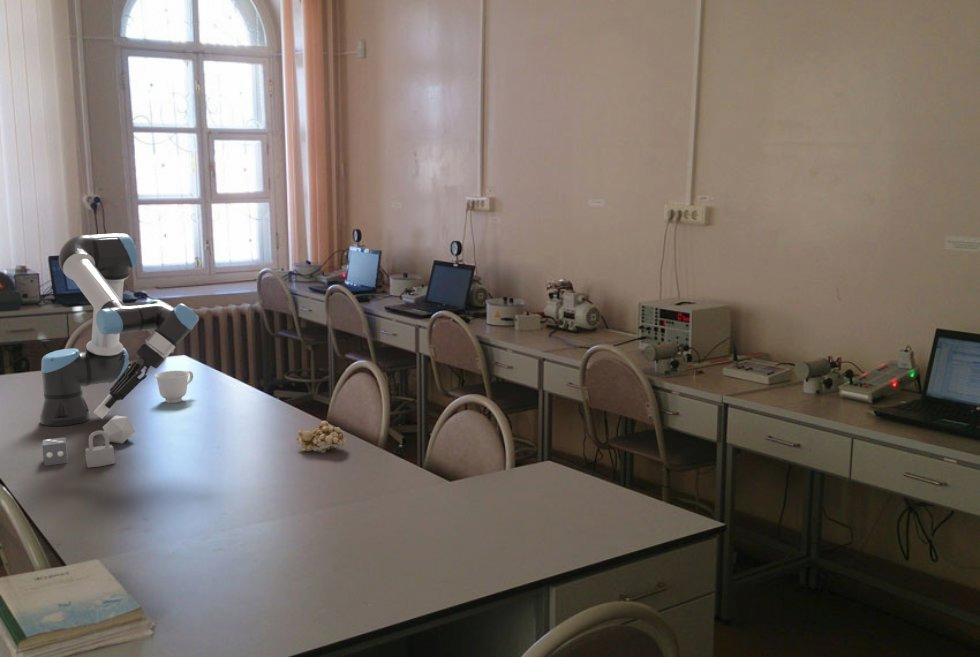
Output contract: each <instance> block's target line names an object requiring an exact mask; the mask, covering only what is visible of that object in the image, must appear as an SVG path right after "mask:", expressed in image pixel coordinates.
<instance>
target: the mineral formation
mask: <svg viewBox="0 0 980 657" xmlns="http://www.w3.org/2000/svg"><path fill="white" fill-rule="evenodd" d="M318 426H319V427H316V429H313V430H312V431H309V430H307V429H305V430H302V429H301V430H298V436H297V437H296V440H295V442H296V443H297V445H300V446H301V448H300V451H301V452H303V451H304V452H310V451H314V452H319V453H320V454H321V453H322V454H325V453H326V452H327V451H329V450H330V449H334V448H336V449H337V447H341V446H342V447H343V446H346V444H347V443H346V442H347V440H346V438H345V435H344V434H345V432H344V431H343V430H342V429H341V428H340V427H339V426H338V427H333V426H332V425H331V424H329V422H328V421H326V420H322V421H321V422H320V424H319V425H318Z"/></svg>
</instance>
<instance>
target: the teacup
mask: <svg viewBox="0 0 980 657" xmlns="http://www.w3.org/2000/svg"><path fill="white" fill-rule="evenodd" d="M154 378H155V379H156V382H157V385H158V386H157V387H158V391H159V395H160V397H161V398H163V399H165V403H167V404H176V403H180V402H182V401H183V397H184V396H186V394H187V391H188V385H189V384H190V383H191V382H192V381H193V379H194V373H193V372H192V371H191V370H168V371H162V372H158V373H155V375H154Z"/></svg>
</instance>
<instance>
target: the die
mask: <svg viewBox="0 0 980 657" xmlns="http://www.w3.org/2000/svg"><path fill="white" fill-rule="evenodd" d="M102 429H103V431H105V432H106V433H107V434H108V436H109V443H116V444H124V443H125V442H126V441H127V440H128V439H129V438H130V437H131V436H132V435H133V434H134V433H136V432H135V429H134V427H133V425H132V423H131V421H130V419H129V417H128V416H123V415H114V416H113V417H111V418H110V419H109V421H107V422H106V424H104V425H103V426H102Z"/></svg>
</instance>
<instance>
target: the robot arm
mask: <svg viewBox="0 0 980 657" xmlns="http://www.w3.org/2000/svg"><path fill="white" fill-rule="evenodd" d="M138 263H139V255H138V250H137V246H136V244H135V242H134V240H133V238H132V237H131V236H130V235H128V234H126V233H116V232H113V233H102V234H101V233H100V234H99V233H98V234H81V235H77V236H76V235H75V236H74V237H72V238H70V239H68V240H67V241H66V242H65V243H64V244H63V246H62V247H61V249H60V251H59V254H58V265H59V267H60V270H61V272H62V273H63V274H64V275H65V277H67V278H68V279H70V280H73V282H74V283H75V284H76V285H77V287H78V288H79V290H80V291H81V293H82V294H83V295H84V297H85V298H86V299H87V300H88V302H89V303H90V305H91V306H92V307H93V312H92V313H93V316H92V317H93V318H92V327H91V328H92V329H91V340H89V341H88V342H87V343H86V345H85V346H86V347H85V348H86V349H85V351H80V350H79V349H78V348H75V347H74V348H63V349H58V350H54V351H52V352H49V353H47V354H45V355H44V356H43V357H42V358H41V367H40V368H41V369H40V371H41V377H42V386H43V389H42V390H43V398H44V400H43V404H42V408H41V413H40V416H39V420H40V424H41V425H43V426H48V427H62V426H69V425H76V424H77V425H78V424H81V423H84V422H86V421H88V420H90V419H91V411H90V409H89V406H88V404H87V403H86V400H85V398H84V396H83V395H84V394H83V387H88V386H95V385H100V384H101V385H102V384H108V383H109V384H110V383H114V384H113V385H112V386H111V388H110V389H109V393H108V395H107V396H106V397H105V398H104V399H103V401H102V402H100V404H99V405H98V406H97V407H96V408H95V410H94V411H93V413H94V414H95V416H98V417H99V418H100V419H104V418H105V416H106V415H107V414H108V413H109V412H110V411H111V409H112V408H114V406H115V405H116V404H117V403H118V401H120V400H121V401H122V400H124V399H125V398H126V397H127V396H128V395H129V394H130V393H131V392H132V391H134V389H135V387H137V386H138V385H139V384H140V383H141V382H142V381H144V380H145V379H146V378H147V373H148V372H149V370H150V368H151V367H152V368H154V369H158V368H159V367H160V366H161V365H162V364H163V362H165V358H167V357H168V356H170V354H173V353H174V352H175V351H174V350H175V348H176V347H177V346H178V345H180V343H181V341H183V339H185V337H186V336H187V335H188V334H189V333H190V332H191V331H192V330H193V329H194V327H195V326H196V325H197V323H198V322H199V320H200V318H199V315H198V314H197V313H196V311H195V312H194V311H193V310H192V308H190V307H188V306H187V305H186V304H184V303H179V304H177V305H176V306H175V307H174V306H172V305H170V304H169V303H168V302H166V301H164V300H161V299H152V300H150V301H148V302H146V303H145V304H137V305H129V306H127V305H126V304H125V302H123V297H124V285H125V281H126V280H127V279H128V278H130V272H131V270H133V269H136V268H137V267H138ZM150 330H153V331H152V333H151V334H150V335H149V336H148V337H147V338H146V339H145V342H146V343H143V344H142V345H140V346H139V348H138V349H137V350H136V352H135V354H136V355H137V356H138V357H139V358H137V359H136V360H135V361H133V362H132V363H130V360H129V358H130V356H129V353H128V351H127V349H126V348H125V347H124V345H123V343H121V342H120V337H121V336H120V334H125V333H133V332H141V331H150Z"/></svg>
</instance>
